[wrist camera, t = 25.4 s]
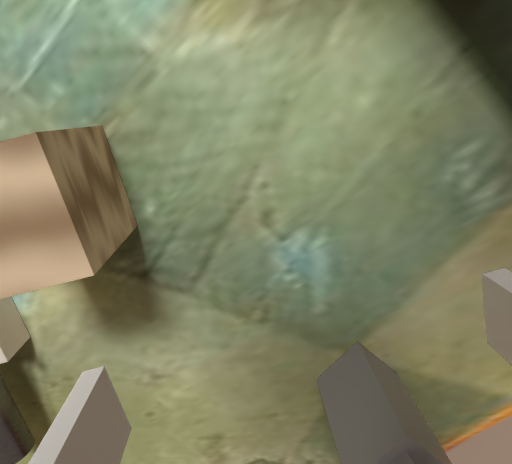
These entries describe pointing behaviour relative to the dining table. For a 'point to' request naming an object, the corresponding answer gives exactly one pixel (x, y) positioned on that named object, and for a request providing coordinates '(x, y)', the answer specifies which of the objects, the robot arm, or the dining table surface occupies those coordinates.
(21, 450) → the axle
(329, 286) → the dining table surface
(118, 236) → the brown wooden block
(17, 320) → the cradle
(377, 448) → the perfume bottle
